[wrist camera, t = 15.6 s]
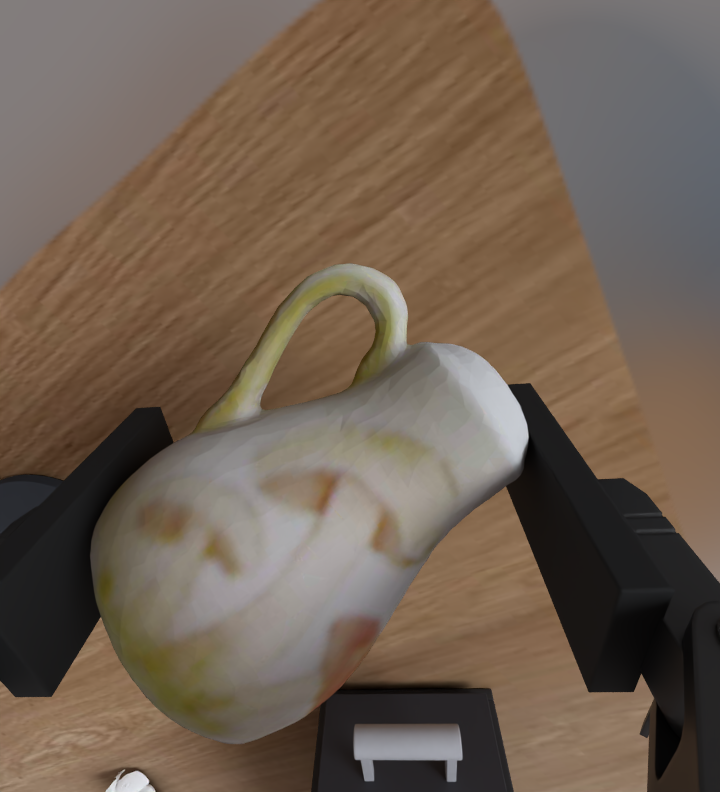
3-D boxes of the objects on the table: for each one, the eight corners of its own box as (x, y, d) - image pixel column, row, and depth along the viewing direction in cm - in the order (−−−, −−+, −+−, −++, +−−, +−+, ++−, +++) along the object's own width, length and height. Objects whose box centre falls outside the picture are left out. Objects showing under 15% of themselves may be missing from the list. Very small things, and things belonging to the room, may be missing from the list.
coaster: (-44, 477, 23) (-54, 484, 23) (92, 470, 23) (85, 477, 22) (23, 576, 27) (16, 584, 26) (141, 572, 26) (136, 580, 26)
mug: (563, 419, 13) (535, 882, 7) (321, 430, 18) (205, 696, 13) (485, 197, 8) (263, 985, 3) (196, 301, 14) (-62, 628, 8)
